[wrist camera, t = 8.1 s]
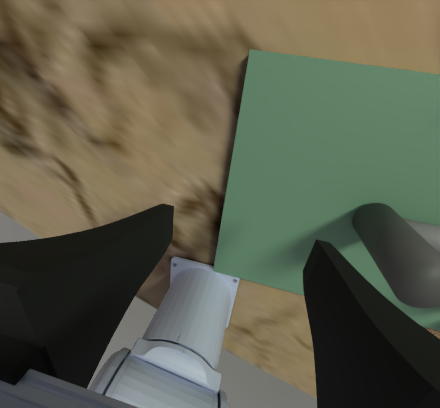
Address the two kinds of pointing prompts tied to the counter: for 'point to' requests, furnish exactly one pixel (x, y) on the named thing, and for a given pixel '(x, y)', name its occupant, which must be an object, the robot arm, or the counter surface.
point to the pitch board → (326, 166)
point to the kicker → (402, 253)
